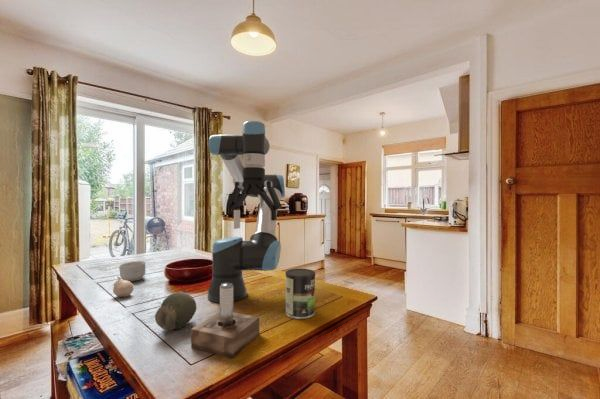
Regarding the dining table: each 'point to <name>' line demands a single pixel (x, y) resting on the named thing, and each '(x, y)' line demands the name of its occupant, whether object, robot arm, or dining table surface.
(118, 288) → the garlic bulb
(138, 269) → the teacup
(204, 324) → the bore block
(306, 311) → the coffee can
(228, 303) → the pin
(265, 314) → the dining table surface
